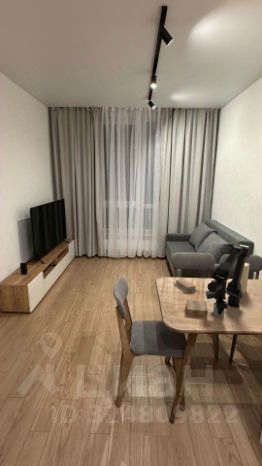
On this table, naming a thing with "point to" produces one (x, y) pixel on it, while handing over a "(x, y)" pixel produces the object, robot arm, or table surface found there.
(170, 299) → the table surface
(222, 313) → the slate cube
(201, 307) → the walnut block
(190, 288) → the packaged product
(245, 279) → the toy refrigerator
